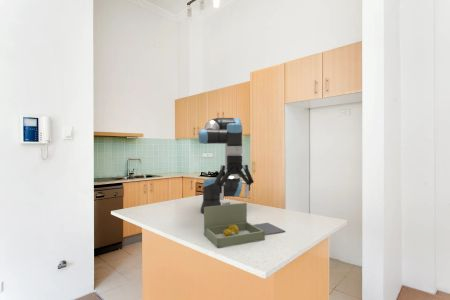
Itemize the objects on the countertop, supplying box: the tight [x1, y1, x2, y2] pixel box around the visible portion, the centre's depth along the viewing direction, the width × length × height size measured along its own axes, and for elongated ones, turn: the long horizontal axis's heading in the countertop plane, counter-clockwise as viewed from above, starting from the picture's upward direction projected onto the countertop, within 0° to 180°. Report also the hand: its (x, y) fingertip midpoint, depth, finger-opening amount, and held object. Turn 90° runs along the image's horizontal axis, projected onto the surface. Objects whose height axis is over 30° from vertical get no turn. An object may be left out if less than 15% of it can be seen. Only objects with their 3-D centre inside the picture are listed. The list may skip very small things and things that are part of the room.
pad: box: [253, 222, 286, 236], centre depth 132 cm, size 16×12×1 cm
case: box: [203, 201, 266, 249], centre depth 120 cm, size 18×24×15 cm
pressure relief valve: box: [222, 225, 240, 237], centre depth 118 cm, size 6×12×10 cm
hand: (234, 198), depth 119 cm, fingers open, 13 cm apart
